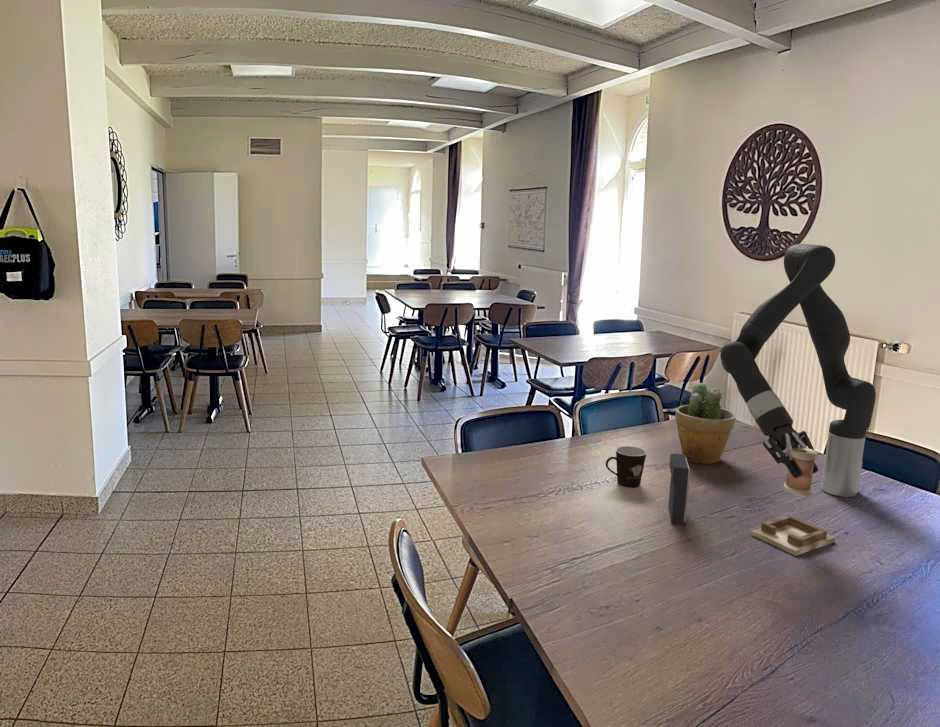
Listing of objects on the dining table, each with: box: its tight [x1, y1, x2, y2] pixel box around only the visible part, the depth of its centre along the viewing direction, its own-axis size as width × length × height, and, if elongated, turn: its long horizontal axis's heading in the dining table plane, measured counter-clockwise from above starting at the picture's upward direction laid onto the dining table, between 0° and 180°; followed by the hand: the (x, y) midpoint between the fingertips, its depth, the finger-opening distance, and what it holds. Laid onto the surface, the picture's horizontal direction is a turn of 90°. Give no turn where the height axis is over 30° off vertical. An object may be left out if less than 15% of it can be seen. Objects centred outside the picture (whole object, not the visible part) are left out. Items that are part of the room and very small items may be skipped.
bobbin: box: [783, 446, 818, 497], centre depth 166 cm, size 6×6×10 cm
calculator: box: [667, 453, 691, 525], centre depth 179 cm, size 11×4×15 cm, turn 168°
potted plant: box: [674, 382, 737, 465], centre depth 222 cm, size 18×19×25 cm
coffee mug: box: [605, 445, 647, 489], centre depth 200 cm, size 12×9×10 cm
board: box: [751, 514, 836, 557], centre depth 169 cm, size 15×12×3 cm
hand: (806, 474), depth 164 cm, fingers closed on bobbin, 5 cm apart
